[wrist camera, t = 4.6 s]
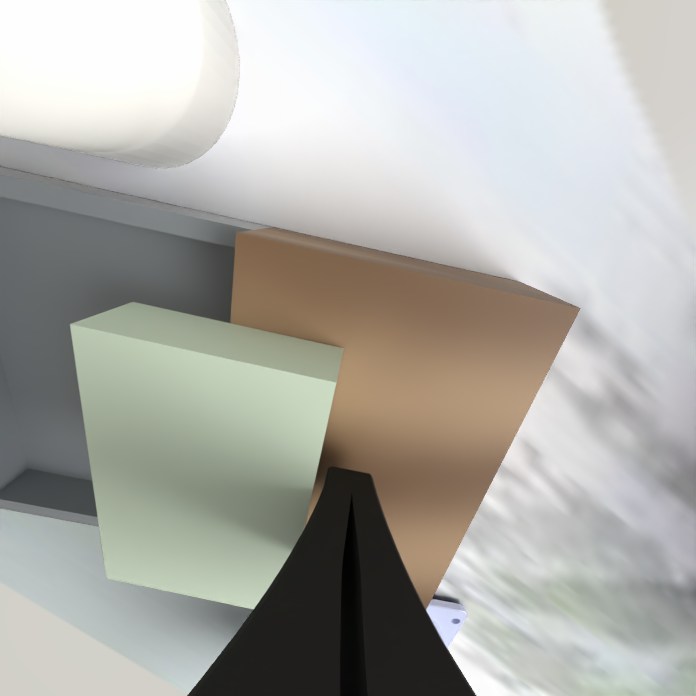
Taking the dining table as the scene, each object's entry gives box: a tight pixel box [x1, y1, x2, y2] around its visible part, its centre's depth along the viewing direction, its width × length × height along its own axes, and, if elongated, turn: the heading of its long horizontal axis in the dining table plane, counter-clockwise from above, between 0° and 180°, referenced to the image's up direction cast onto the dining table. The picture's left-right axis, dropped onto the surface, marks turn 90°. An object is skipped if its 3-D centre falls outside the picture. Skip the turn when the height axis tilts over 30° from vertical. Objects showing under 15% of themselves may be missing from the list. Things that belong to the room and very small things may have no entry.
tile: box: [70, 302, 344, 609], centre depth 10 cm, size 9×6×2 cm, turn 168°
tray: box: [0, 167, 271, 526], centre depth 13 cm, size 14×11×2 cm
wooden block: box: [230, 227, 580, 609], centre depth 12 cm, size 14×9×4 cm, turn 168°
